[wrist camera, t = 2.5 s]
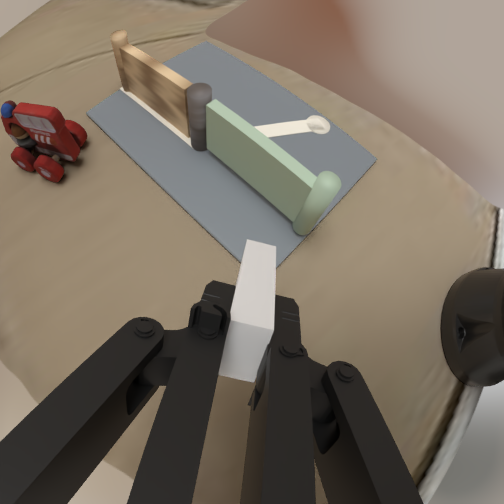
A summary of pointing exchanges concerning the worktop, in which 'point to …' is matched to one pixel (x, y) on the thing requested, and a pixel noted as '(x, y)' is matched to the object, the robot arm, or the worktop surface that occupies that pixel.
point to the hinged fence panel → (269, 168)
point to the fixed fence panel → (163, 90)
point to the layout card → (215, 170)
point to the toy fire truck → (42, 137)
